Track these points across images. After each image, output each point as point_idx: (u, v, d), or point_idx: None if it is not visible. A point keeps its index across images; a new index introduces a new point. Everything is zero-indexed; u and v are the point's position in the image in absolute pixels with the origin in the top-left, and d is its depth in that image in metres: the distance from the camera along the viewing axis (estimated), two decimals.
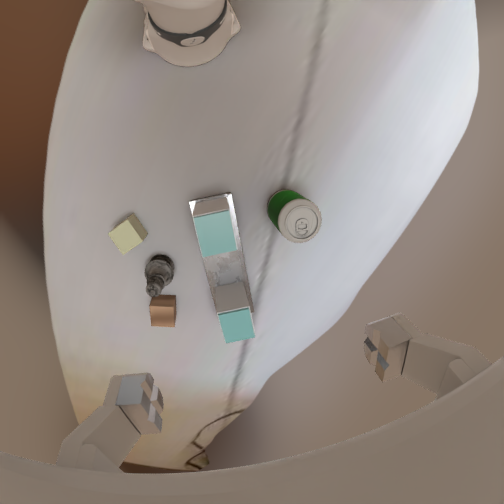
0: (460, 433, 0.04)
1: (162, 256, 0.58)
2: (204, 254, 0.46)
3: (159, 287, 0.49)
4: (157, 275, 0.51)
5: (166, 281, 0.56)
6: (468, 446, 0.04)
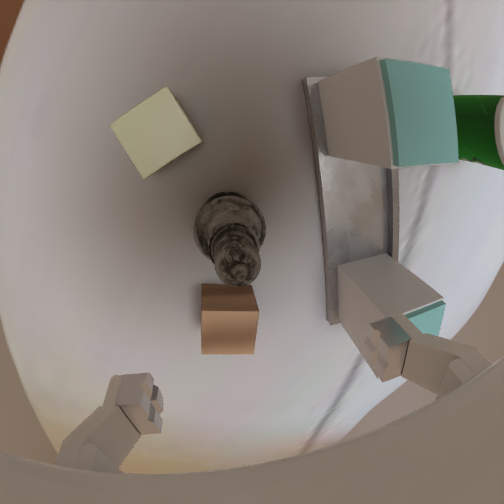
0: (460, 433, 0.04)
1: (233, 196, 0.26)
2: (403, 159, 0.15)
3: (258, 257, 0.17)
4: (241, 227, 0.20)
5: None
6: (468, 446, 0.04)
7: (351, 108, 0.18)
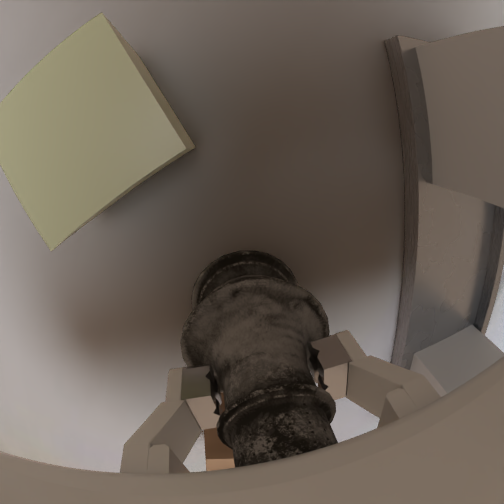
0: (460, 433, 0.04)
1: (258, 260, 0.13)
2: None
3: None
4: (302, 395, 0.07)
5: None
6: (467, 446, 0.04)
7: None
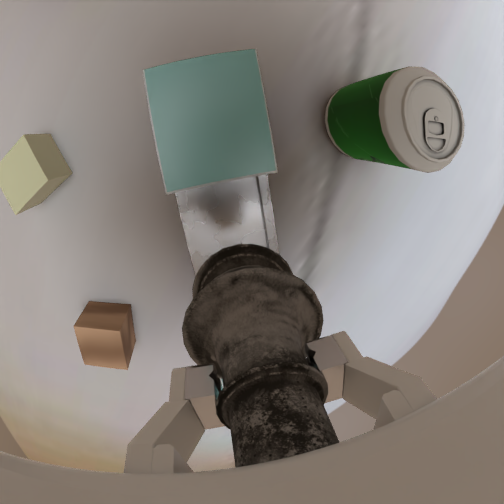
0: (460, 433, 0.04)
1: (257, 252, 0.14)
2: (172, 182, 0.14)
3: None
4: (296, 373, 0.07)
5: None
6: (468, 446, 0.04)
7: None
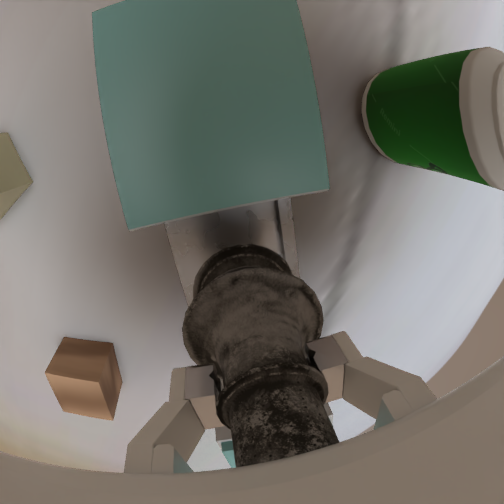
0: (460, 433, 0.04)
1: (257, 252, 0.14)
2: (136, 212, 0.07)
3: None
4: (296, 374, 0.07)
5: None
6: (468, 446, 0.04)
7: None
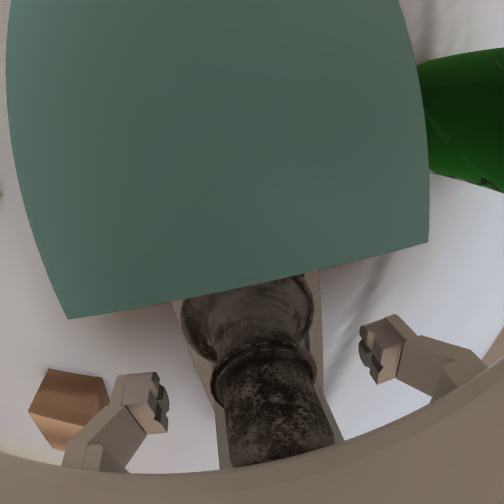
0: (460, 433, 0.04)
1: None
2: (75, 291, 0.03)
3: (332, 441, 0.06)
4: (285, 350, 0.08)
5: None
6: (467, 447, 0.04)
7: None
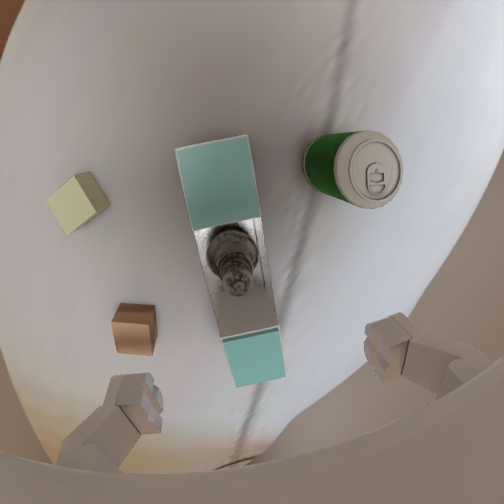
0: (460, 433, 0.04)
1: (235, 228, 0.35)
2: (196, 224, 0.23)
3: (251, 276, 0.26)
4: (241, 255, 0.28)
5: None
6: (467, 447, 0.04)
7: None
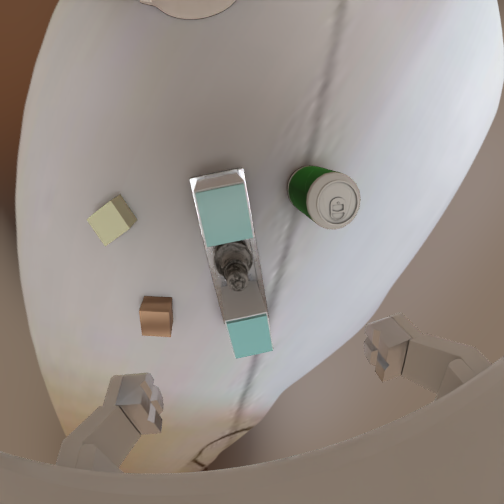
0: (460, 433, 0.04)
1: None
2: (209, 243, 0.35)
3: (247, 277, 0.37)
4: (239, 262, 0.39)
5: None
6: (467, 447, 0.04)
7: None
